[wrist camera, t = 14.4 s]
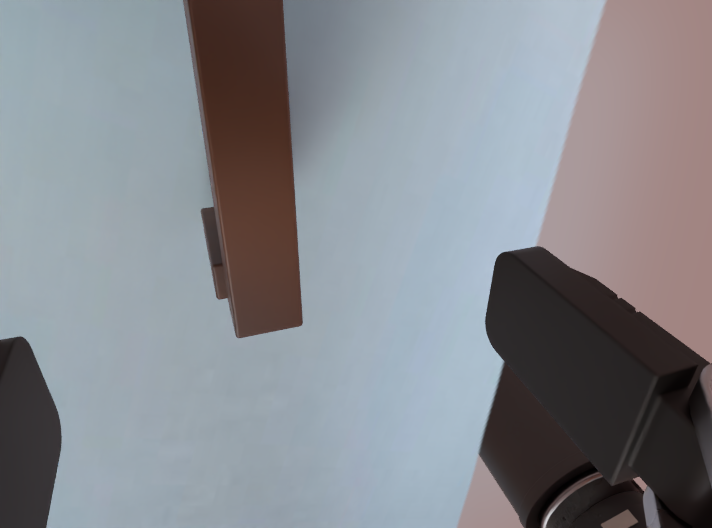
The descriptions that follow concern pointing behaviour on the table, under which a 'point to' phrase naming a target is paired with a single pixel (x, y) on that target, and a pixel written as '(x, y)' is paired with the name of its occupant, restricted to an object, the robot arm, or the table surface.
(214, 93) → the door handle
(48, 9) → the table surface
